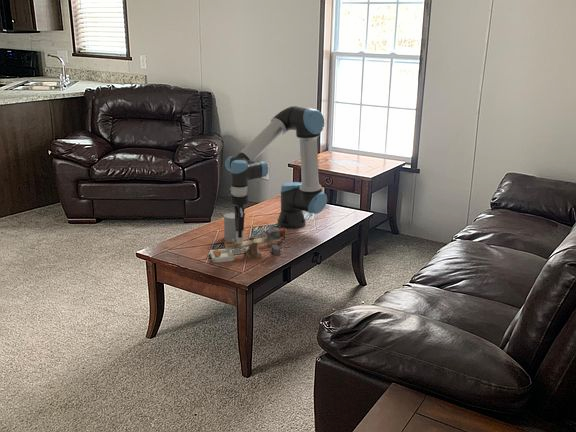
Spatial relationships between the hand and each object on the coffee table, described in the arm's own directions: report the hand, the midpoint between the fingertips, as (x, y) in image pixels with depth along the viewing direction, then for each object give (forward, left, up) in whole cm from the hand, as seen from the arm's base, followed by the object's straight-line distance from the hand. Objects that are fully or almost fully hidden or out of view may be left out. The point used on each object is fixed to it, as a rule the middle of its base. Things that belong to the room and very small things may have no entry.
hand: (239, 243), depth 272 cm
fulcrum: (-6, 0, -6) cm, 9 cm away
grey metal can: (-1, -23, -7) cm, 24 cm away
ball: (+10, 0, -4) cm, 11 cm away
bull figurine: (-19, -12, -7) cm, 24 cm away
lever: (-6, 0, 0) cm, 7 cm away
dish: (+8, 0, -6) cm, 10 cm away
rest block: (-18, 0, -6) cm, 19 cm away
